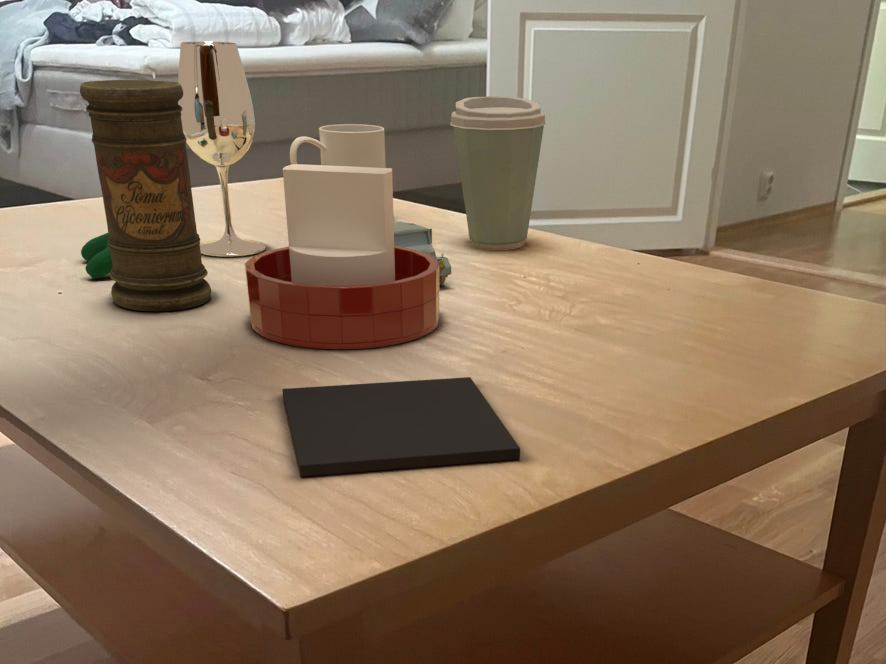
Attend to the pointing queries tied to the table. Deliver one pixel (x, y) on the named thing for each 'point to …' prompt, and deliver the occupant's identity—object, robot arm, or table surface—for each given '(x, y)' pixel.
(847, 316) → the table surface
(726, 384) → the table surface
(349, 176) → the base with upright slab
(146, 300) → the container
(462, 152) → the disposable coffee cup
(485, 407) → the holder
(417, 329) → the red round dish
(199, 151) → the wineglass
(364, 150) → the mug
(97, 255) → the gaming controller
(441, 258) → the toy car
